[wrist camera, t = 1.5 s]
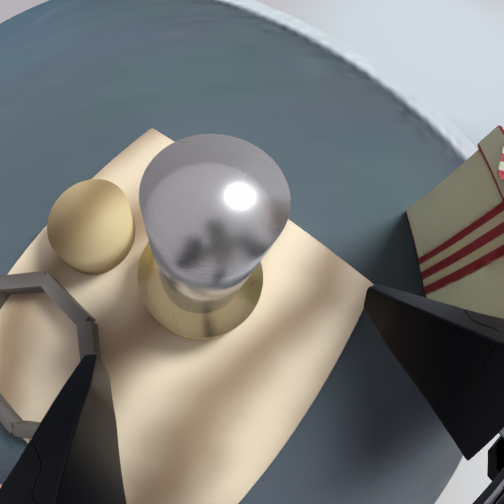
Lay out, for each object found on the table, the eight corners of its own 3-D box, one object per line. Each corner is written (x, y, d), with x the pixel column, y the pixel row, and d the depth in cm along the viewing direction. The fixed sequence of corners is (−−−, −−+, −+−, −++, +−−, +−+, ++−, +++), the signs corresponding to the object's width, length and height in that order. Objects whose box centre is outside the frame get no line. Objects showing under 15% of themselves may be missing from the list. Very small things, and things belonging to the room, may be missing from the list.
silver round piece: (276, 272, 20) (359, 186, 10) (212, 363, 17) (247, 371, 7) (190, 210, 20) (201, 86, 10) (119, 290, 17) (51, 207, 7)
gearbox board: (367, 287, 23) (393, 275, 19) (189, 545, 12) (192, 570, 9) (152, 135, 23) (150, 107, 20) (-33, 354, 13) (-58, 350, 9)
